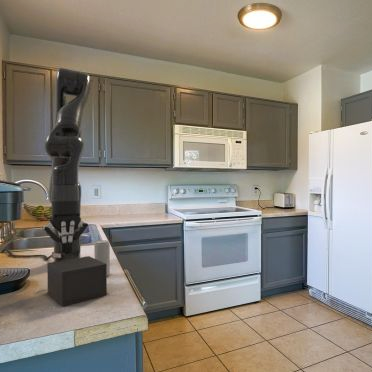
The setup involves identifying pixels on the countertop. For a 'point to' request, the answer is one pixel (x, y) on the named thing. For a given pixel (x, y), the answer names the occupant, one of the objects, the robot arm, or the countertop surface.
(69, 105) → the robot arm
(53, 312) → the countertop surface
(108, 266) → the beverage can
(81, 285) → the dark grey lidded box
